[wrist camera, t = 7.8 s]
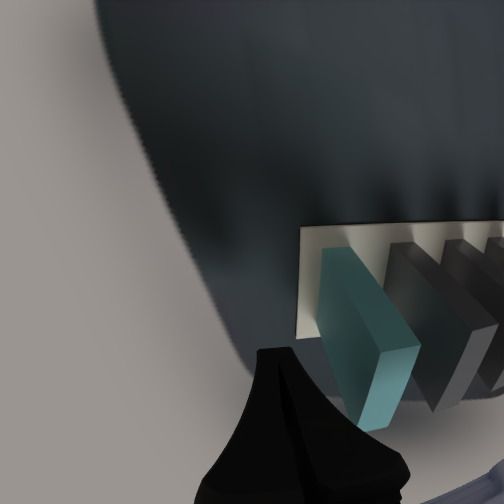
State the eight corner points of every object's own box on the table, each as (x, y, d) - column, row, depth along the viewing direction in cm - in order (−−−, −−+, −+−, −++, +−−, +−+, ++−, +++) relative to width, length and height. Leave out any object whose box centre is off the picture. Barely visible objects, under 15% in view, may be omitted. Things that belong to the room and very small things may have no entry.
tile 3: (463, 238, 17) (547, 308, 10) (446, 305, 19) (509, 383, 12) (445, 239, 17) (530, 313, 10) (428, 308, 19) (490, 391, 12)
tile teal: (350, 246, 17) (421, 344, 10) (341, 321, 19) (387, 426, 12) (322, 248, 17) (380, 352, 10) (316, 324, 19) (354, 434, 12)
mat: (540, 220, 17) (542, 221, 17) (517, 299, 20) (518, 300, 20) (300, 226, 16) (301, 228, 16) (295, 336, 20) (296, 339, 19)
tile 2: (413, 241, 17) (498, 323, 10) (399, 312, 19) (458, 404, 12) (390, 242, 17) (472, 331, 10) (377, 316, 19) (432, 413, 12)
